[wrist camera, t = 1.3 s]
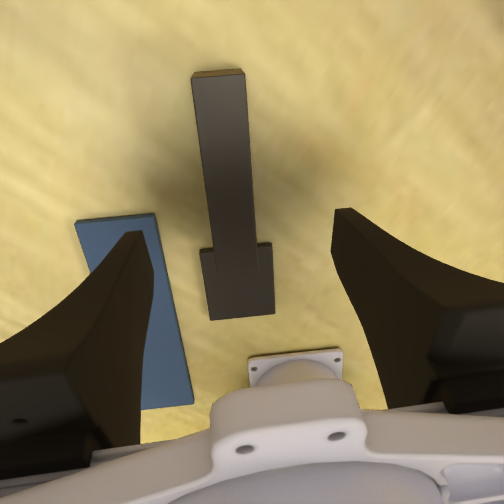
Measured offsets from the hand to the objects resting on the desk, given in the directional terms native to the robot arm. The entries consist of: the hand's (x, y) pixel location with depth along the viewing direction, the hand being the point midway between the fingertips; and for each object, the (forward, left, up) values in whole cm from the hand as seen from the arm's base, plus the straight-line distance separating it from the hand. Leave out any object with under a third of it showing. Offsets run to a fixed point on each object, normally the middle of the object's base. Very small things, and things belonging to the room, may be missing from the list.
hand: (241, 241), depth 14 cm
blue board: (-12, +8, -10) cm, 18 cm away
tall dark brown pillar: (-3, 0, -10) cm, 11 cm away
